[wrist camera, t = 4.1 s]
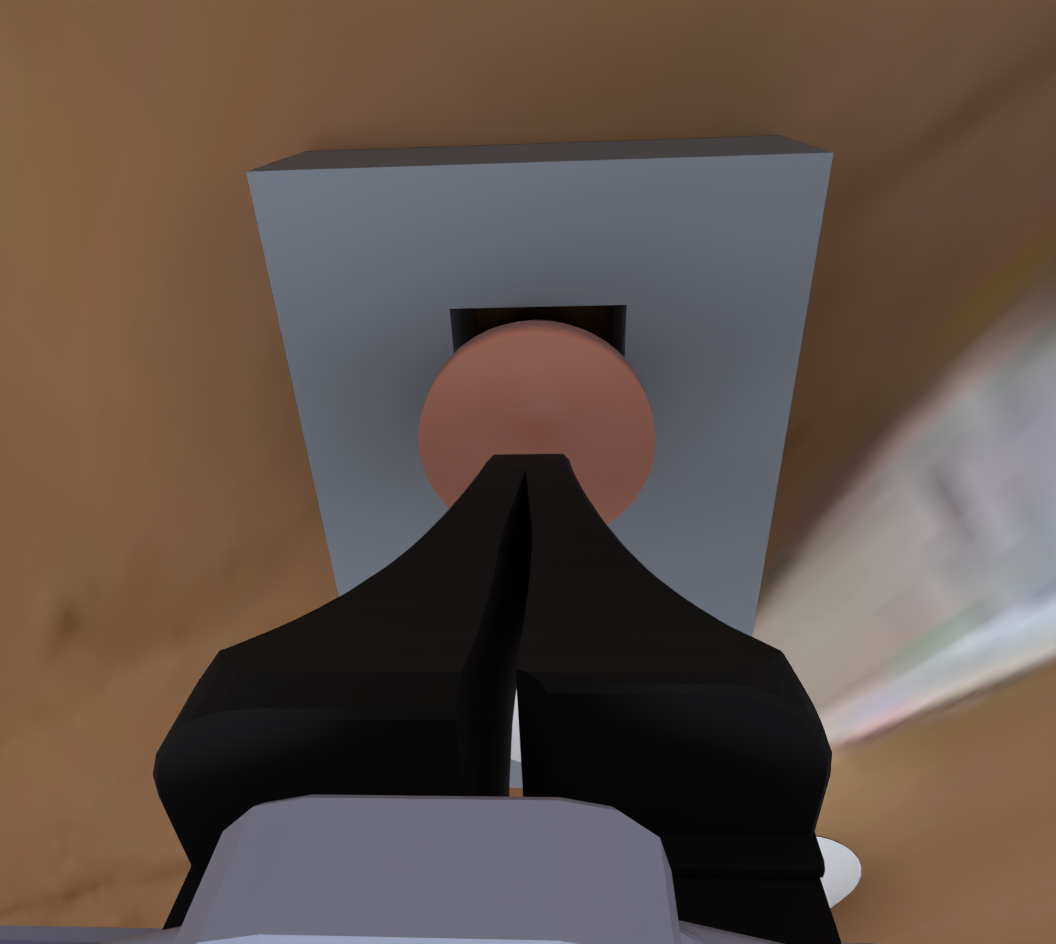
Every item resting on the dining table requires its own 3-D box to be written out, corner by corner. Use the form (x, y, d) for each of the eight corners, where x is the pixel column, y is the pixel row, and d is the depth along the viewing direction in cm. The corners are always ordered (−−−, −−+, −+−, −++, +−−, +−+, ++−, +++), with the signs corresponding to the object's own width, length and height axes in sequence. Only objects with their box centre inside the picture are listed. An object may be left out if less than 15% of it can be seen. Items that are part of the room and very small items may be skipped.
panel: (779, 135, 17) (833, 152, 14) (705, 699, 27) (725, 790, 24) (305, 151, 18) (246, 171, 15) (402, 697, 28) (380, 785, 25)
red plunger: (641, 274, 16) (662, 331, 13) (632, 455, 19) (648, 543, 15) (436, 279, 17) (404, 336, 13) (454, 457, 19) (431, 544, 16)
